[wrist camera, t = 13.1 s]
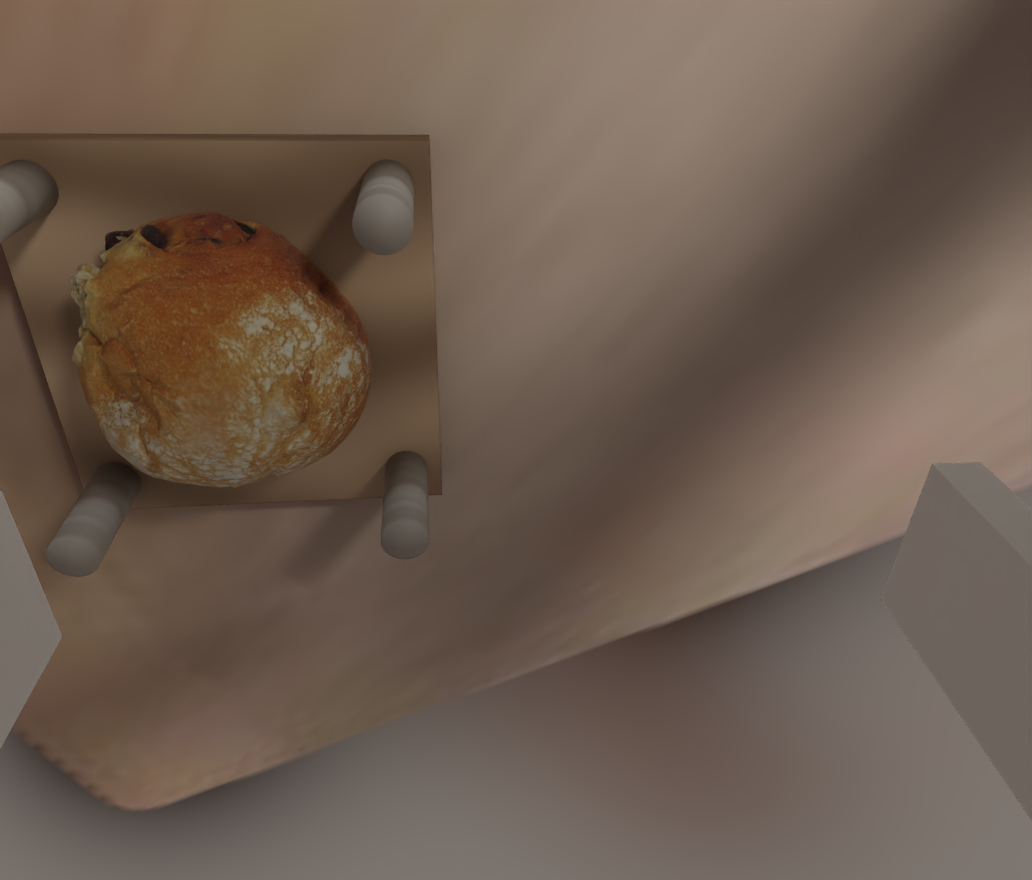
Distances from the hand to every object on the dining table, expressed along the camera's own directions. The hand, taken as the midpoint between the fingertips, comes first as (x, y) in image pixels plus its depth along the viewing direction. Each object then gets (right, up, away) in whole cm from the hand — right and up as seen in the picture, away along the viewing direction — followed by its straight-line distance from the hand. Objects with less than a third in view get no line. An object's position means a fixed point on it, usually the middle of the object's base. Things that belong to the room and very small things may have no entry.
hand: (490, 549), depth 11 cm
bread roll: (-11, +6, +18) cm, 22 cm away
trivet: (-10, +6, +19) cm, 23 cm away
